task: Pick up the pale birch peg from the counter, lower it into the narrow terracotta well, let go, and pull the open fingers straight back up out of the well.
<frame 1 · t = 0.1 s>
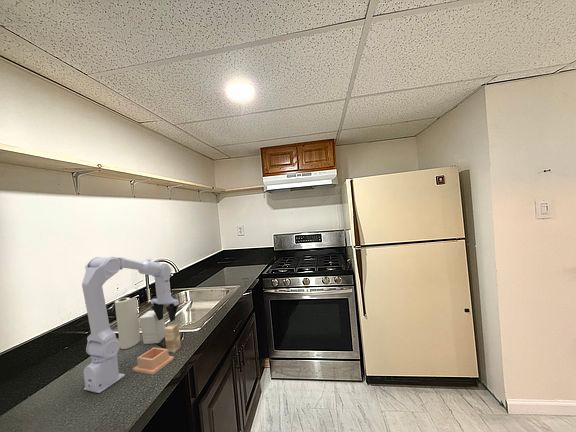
hand: (166, 320, 120), 10 cm above the worktop, tool pointing down, fingers open, 6 cm apart
birch peg: (173, 349, 113), on the worktop
terracotta well: (154, 364, 103), on the worktop
paper towel roll: (129, 346, 120), on the worktop
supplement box: (155, 339, 124), on the worktop, touching gripper
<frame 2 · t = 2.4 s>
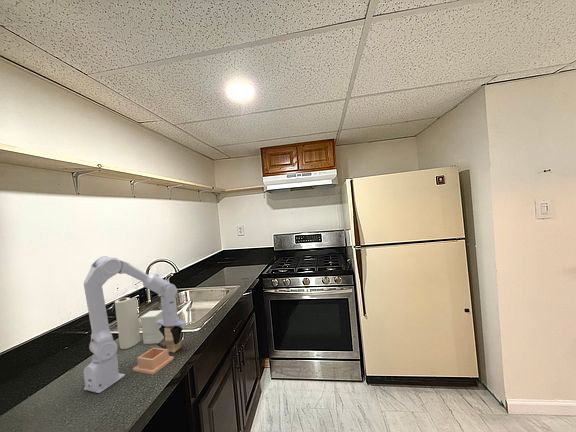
hand: (173, 342, 113), 3 cm above the worktop, tool pointing down, fingers closed on birch peg, 4 cm apart
birch peg: (173, 349, 113), on the worktop, touching gripper
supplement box: (155, 340, 124), on the worktop
everything else where it was.
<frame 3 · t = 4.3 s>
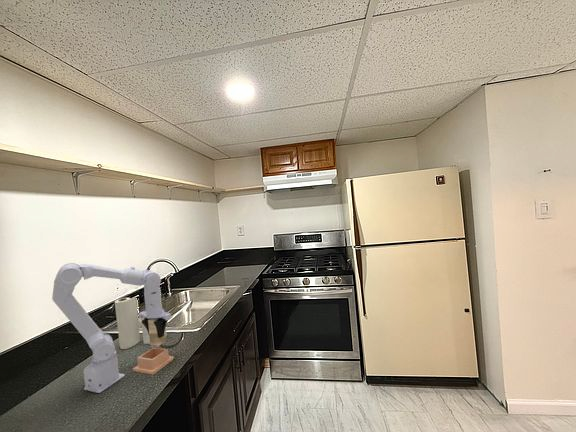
hand: (156, 336, 105), 10 cm above the worktop, tool pointing down, fingers closed on birch peg, 4 cm apart
birch peg: (158, 343, 106), point 7 cm above the worktop, touching gripper
everything else where it was.
when the fingers open (6 cm above the worktop, at t = 6.6 s): birch peg drops 2 cm, resting on terracotta well.
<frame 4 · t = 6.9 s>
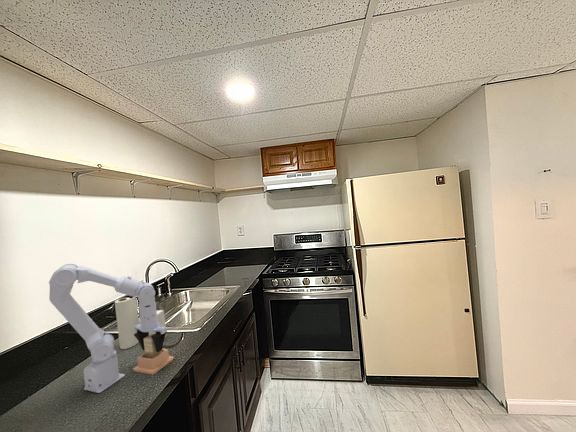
hand: (152, 349, 102), 6 cm above the worktop, tool pointing down, fingers open, 7 cm apart
birch peg: (154, 361, 103), point 1 cm above the worktop, touching terracotta well
everything else where it was.
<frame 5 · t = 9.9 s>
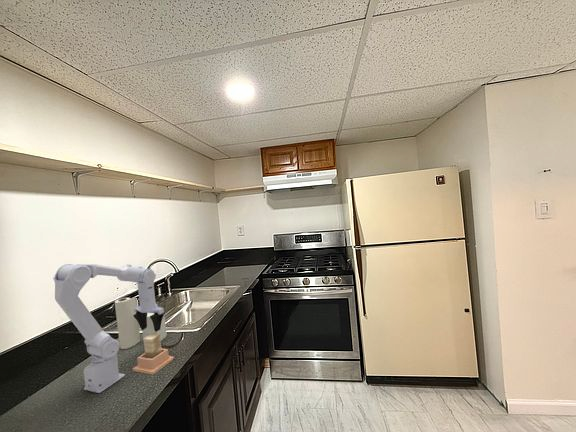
hand: (150, 329, 110), 10 cm above the worktop, tool pointing down, fingers open, 7 cm apart
nothing on the worktop moved.
at the end: birch peg 0.3 cm off-centre on the terracotta well, point 1.0 cm above the terracotta well's base; birch peg tilted 0°; the gripper is holding nothing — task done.
